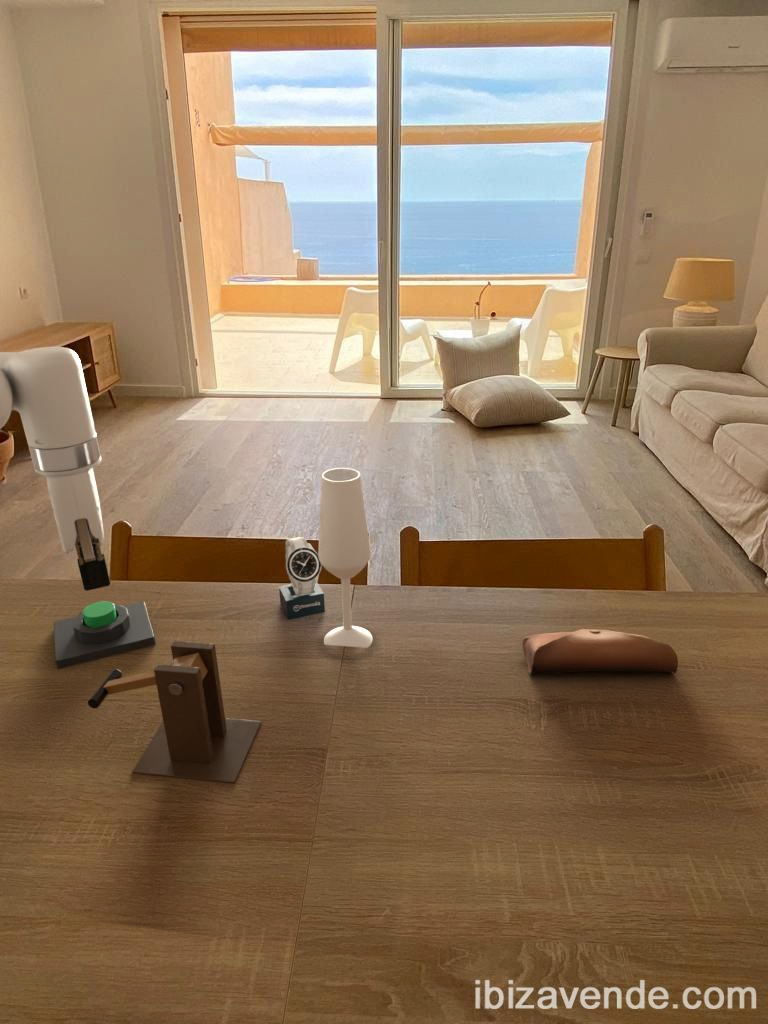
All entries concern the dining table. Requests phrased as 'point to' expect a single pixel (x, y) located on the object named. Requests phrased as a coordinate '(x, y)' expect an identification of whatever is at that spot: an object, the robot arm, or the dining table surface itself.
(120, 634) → the button box
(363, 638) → the champagne flute
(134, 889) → the dining table surface
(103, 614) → the light button
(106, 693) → the lever
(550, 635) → the sunglasses case
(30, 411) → the robot arm
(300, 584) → the watch
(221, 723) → the switch bracket
